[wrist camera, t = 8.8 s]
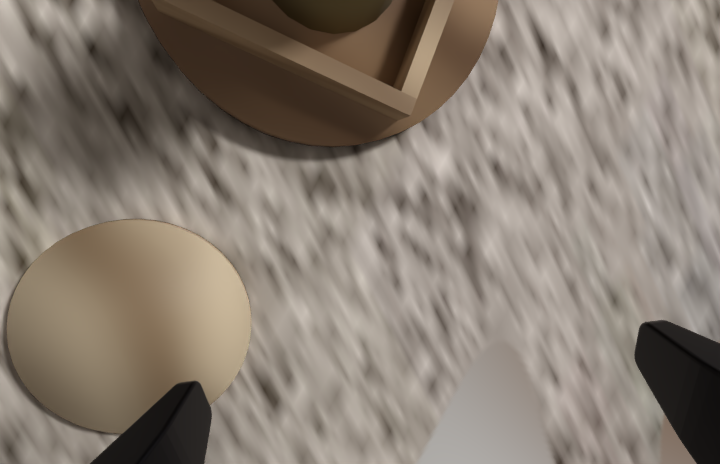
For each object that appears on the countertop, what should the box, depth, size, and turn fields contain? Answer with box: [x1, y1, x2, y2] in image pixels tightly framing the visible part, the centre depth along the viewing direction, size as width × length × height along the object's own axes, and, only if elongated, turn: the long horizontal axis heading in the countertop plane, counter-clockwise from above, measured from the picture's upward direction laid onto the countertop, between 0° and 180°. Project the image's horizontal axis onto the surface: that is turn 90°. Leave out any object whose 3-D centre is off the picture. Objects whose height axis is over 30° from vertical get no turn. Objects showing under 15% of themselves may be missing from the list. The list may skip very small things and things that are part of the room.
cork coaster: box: [7, 219, 251, 434], centre depth 17 cm, size 9×9×1 cm
